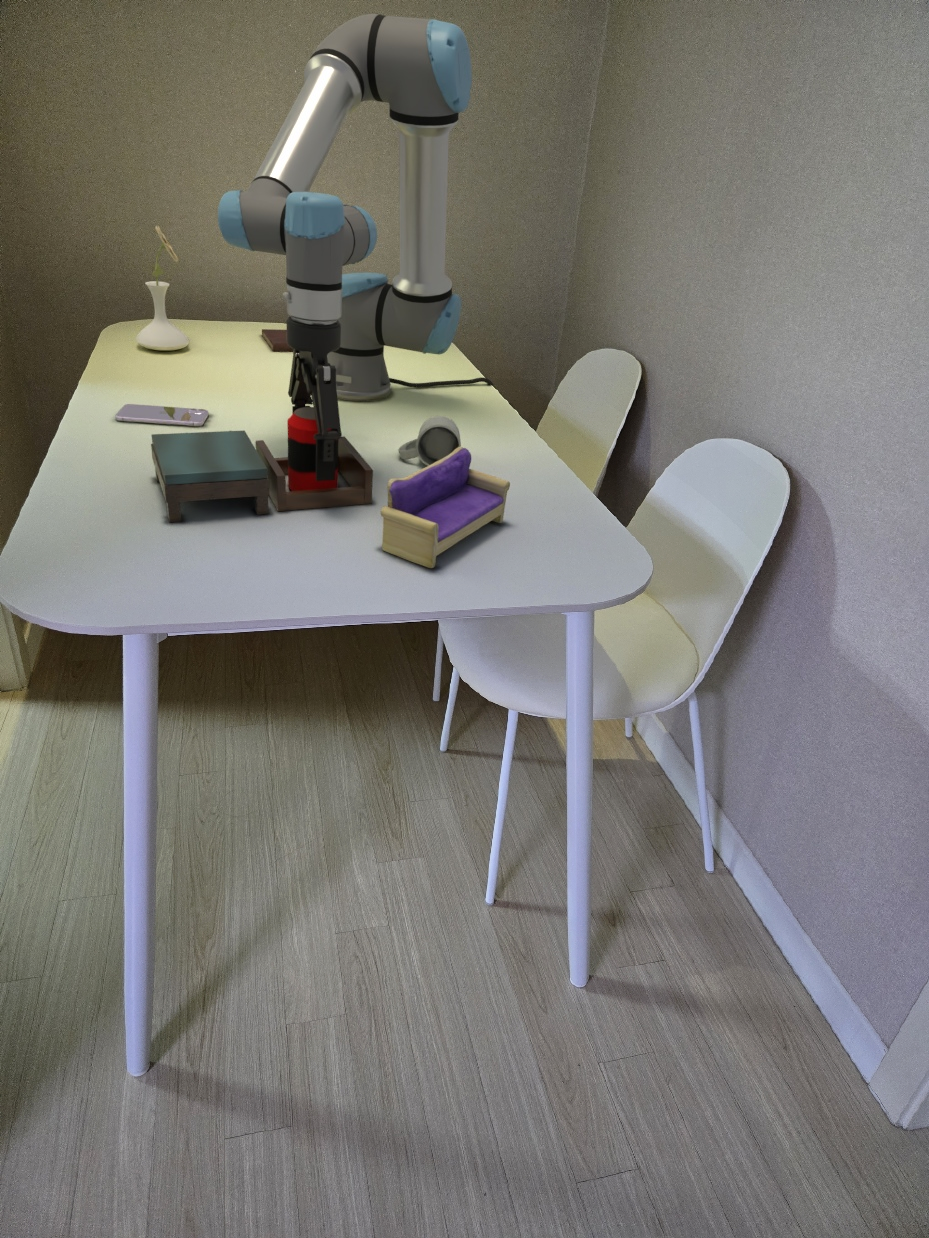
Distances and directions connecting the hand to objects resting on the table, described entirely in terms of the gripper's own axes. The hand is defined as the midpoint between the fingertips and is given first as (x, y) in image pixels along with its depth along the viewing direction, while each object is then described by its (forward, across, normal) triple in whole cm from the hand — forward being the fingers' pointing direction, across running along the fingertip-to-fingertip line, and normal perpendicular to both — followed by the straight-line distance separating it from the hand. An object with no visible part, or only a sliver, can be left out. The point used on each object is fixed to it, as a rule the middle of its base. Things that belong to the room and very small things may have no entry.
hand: (312, 462), depth 122 cm
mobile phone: (+4, -35, -18) cm, 40 cm away
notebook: (+4, -86, +22) cm, 89 cm away
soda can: (+4, 0, 0) cm, 4 cm away
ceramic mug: (+4, -8, +23) cm, 25 cm away
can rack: (+4, 0, 0) cm, 4 cm away
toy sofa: (+4, +20, +14) cm, 25 cm away
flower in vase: (+4, -83, -12) cm, 84 cm away
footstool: (+4, 0, -15) cm, 16 cm away
